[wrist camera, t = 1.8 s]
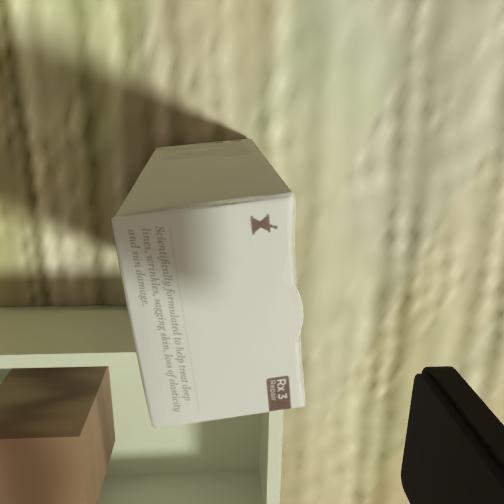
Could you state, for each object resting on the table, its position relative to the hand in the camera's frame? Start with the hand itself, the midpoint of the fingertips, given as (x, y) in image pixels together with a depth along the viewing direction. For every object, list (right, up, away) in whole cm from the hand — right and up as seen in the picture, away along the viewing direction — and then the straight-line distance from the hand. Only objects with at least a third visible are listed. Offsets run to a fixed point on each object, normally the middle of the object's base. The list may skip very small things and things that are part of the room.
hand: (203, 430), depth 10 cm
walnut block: (-11, -6, +22) cm, 25 cm away
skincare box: (-1, +6, +19) cm, 21 cm away
